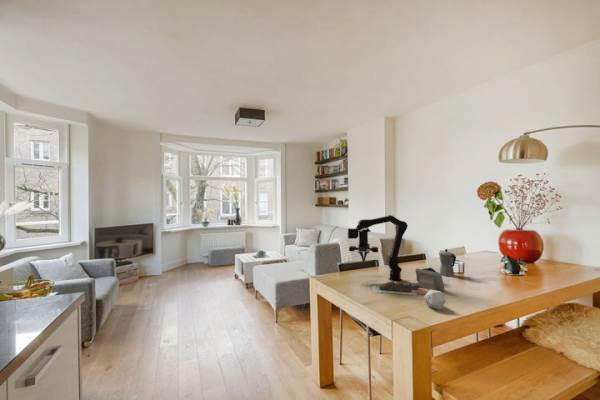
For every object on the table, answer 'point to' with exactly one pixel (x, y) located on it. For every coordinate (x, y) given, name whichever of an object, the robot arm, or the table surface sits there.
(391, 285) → the domino
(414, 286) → the domino
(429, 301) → the grey rock
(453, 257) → the coffeepot
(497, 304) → the table surface
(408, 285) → the domino
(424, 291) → the domino
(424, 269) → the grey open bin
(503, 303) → the table surface
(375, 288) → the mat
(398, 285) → the domino
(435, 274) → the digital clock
